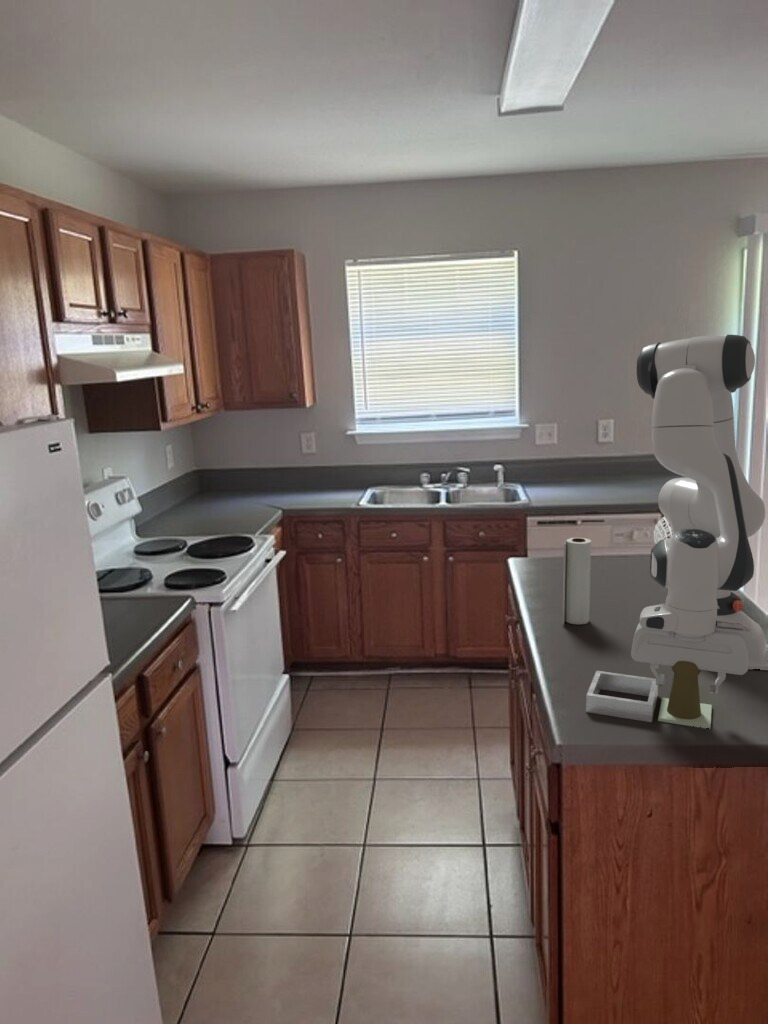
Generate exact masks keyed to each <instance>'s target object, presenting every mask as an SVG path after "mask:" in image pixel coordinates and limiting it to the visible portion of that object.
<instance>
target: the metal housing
mask: <svg viewBox="0 0 768 1024" xmlns="http://www.w3.org/2000/svg"><path fill="white" fill-rule="evenodd" d="M601 690H604V691H609V692H610V691H612V692H619V693H623V694H624V693H625V694H632V695H638V696H645V697H648V698H647V701H643V700H638V699H630V698H623V697H617V696H610V695H603V694H600V691H601ZM658 691H659V685H656V678H653V677H647V676H638V675H630V674H624V673H616V672H609V671H602V670H596V671H595V673H594V675H593V677H592V680H591V683H590V686H589V687H588V691H587V693H586V699H585V700H586V701H585V703H586V704H585V706H586V707H585V713H589V714H590V713H591V714H597V715H602V716H610V717H616V718H622V719H629V720H633V721H634V720H635V721H641V722H647V723H653V719H654V713H655V709H656V705H657V699H658V694H659V693H658Z"/></svg>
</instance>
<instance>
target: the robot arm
mask: <svg viewBox="0 0 768 1024" xmlns="http://www.w3.org/2000/svg"><path fill="white" fill-rule="evenodd" d="M635 364H636V365H635V376H636V379H637V380H636V381H637V384H638V386H639V388H640V389H641V390H642V391H643V392H644V393H645V394H646V395H650V396H651V398H652V399H653V405H652V416H651V417H652V418H651V443H652V444H651V445H652V446H651V447H652V453H653V455H654V457H655V458H656V460H657V461H658V463H659V464H660V465H661V466H662V467H663V468H665V469H666V470H667V471H670V472H672V473H674V474H676V475H679V476H681V477H674V478H672V479H670V480H668V481H667V482H665V483H664V485H662V487H661V489H660V491H659V493H658V500H657V502H658V503H657V504H658V508H659V510H660V512H661V514H662V515H663V517H664V516H665V518H666V519H667V521H668V522H669V526H670V527H671V529H672V530H671V531H672V532H673V534H672V535H673V536H672V538H670V537H669V538H668V537H667V538H668V539H666V538H665V539H662V540H660V541H659V542H658V543H657V544H656V545H655V544H654V546H653V547H652V548H651V550H650V565H649V566H650V567H649V575H650V577H651V578H652V579H653V580H654V581H655V582H656V583H657V584H658V585H659V586H661V587H663V588H666V589H667V591H668V592H667V595H666V598H665V603H660V604H655V605H654V604H653V605H648V606H645V607H644V608H642V611H640V612H641V613H640V614H639V615H640V616H639V623H638V624H637V626H636V629H635V632H634V635H633V639H632V645H631V650H630V651H631V652H630V656H631V658H632V659H633V660H634V662H638V663H639V662H640V663H646V664H650V665H649V668H650V670H651V672H652V673H653V676H654V677H655V679H656V685H658V686H661V687H664V686H665V682H666V681H665V680H666V679H665V678H666V677H665V676H666V674H664V673H661V672H660V670H659V667H660V666H659V665H663V666H669V667H670V666H674V664H675V663H676V662H678V661H688V662H692V663H695V664H696V666H697V667H698V669H699V670H701V671H707V672H708V671H709V672H714V673H715V672H716V673H717V678H716V679H715V680H710V683H709V694H710V693H711V694H719V687H720V686H721V685H722V683H724V681H725V680H726V678H727V674H730V675H731V674H732V675H739V676H743V675H745V674H746V673H747V672H748V670H753V669H760V671H768V643H767V640H766V636H765V632H764V630H763V628H762V627H761V625H759V623H758V622H756V621H755V620H753V619H752V618H751V617H749V616H748V614H746V613H744V611H742V610H743V608H744V603H743V601H741V597H740V595H739V593H736V594H735V592H736V591H738V590H740V589H742V588H743V587H745V586H746V585H747V584H748V583H749V582H750V581H751V579H753V577H754V574H755V562H754V561H755V560H754V558H753V557H754V556H753V551H752V549H751V548H752V547H751V545H750V541H749V537H752V536H753V535H755V534H756V533H757V532H758V531H759V530H760V529H761V527H762V526H763V525H764V521H765V518H766V507H765V504H764V503H765V502H764V501H763V499H762V498H761V497H760V495H758V494H757V493H756V491H754V490H753V488H752V487H751V486H750V484H749V482H748V480H747V479H746V477H745V474H744V471H743V470H742V467H741V464H740V461H739V459H738V455H737V449H736V447H737V446H736V436H735V434H736V433H735V415H734V414H735V413H734V403H733V395H732V394H733V393H735V392H737V389H740V388H742V387H744V386H745V385H746V384H748V382H749V381H750V380H751V378H752V375H753V372H754V369H755V364H756V356H755V352H754V350H753V347H752V344H751V342H750V340H749V339H747V337H745V336H743V335H739V334H726V336H725V335H724V336H723V335H722V336H721V335H703V336H702V335H700V336H699V335H698V336H692V337H691V338H682V339H676V340H671V341H667V342H663V343H661V342H655V343H652V344H648V345H646V346H644V347H643V348H642V350H641V351H640V352H639V353H638V355H637V360H636V363H635ZM732 591H733V592H732Z"/></svg>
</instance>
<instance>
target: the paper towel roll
mask: <svg viewBox="0 0 768 1024" xmlns="http://www.w3.org/2000/svg"><path fill="white" fill-rule="evenodd" d="M564 541H565V542H564V544H563V575H562V576H563V579H562V582H563V583H562V625H564V624H565V622H566V623H568V624H571V625H587V624H588V623H590V597H591V561H592V560H591V559H592V558H591V557H592V555H591V553H592V540H591V539H590V538H585V537H569V538H567V539H566V540H564Z"/></svg>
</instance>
